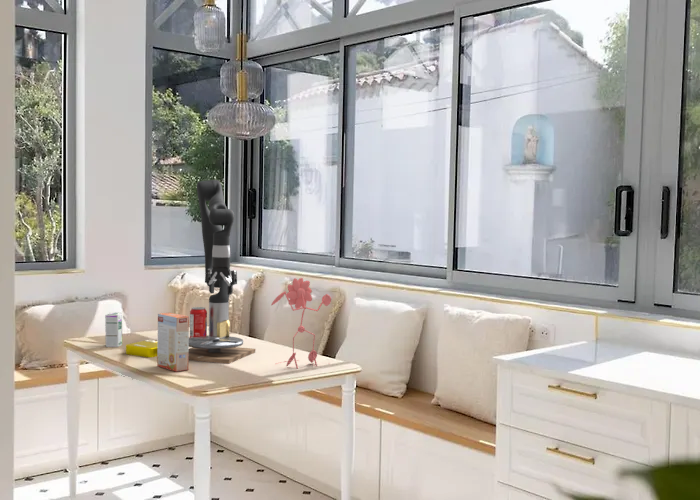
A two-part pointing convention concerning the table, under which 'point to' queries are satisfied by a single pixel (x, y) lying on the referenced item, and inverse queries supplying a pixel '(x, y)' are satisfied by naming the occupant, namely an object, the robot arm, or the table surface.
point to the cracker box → (173, 341)
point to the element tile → (143, 348)
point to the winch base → (219, 354)
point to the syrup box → (113, 329)
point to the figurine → (299, 297)
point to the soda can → (198, 322)
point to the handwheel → (217, 339)
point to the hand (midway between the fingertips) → (220, 294)
